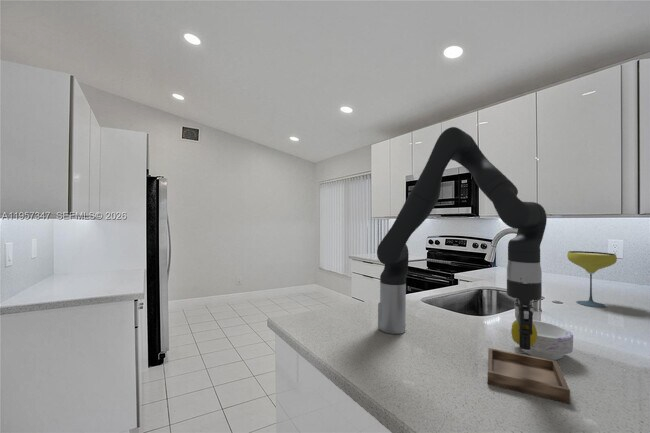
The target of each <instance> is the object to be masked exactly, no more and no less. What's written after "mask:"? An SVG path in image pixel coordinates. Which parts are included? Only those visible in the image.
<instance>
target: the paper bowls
mask: <svg viewBox="0 0 650 433" xmlns="http://www.w3.org/2000/svg"><path fill="white" fill-rule="evenodd" d="M513 323H514V321H513V322H512V323H511V326H512V325H513ZM533 324H534V325H535V328H536V331H537V340H536V342H535V344H534V345H532V346H530V350H526V349H521V351H522V352H524V353H525V354H526V355H528V356H534V357H539V358H544V359H549V360H555V361H557V360H560V359H562V358H563V357H564V356H565V355H567V354H568V355H570V354H571V353H573V351H574V349H573V348H574V335H573V332H571V331H570V330H568V329H567V328H565V327H563V326H560V325H557V324H553V323H550V322H546V321H541V320H535V319H533ZM511 338H512V340H513V342H515V341H514V339H513V337H512V336H511Z"/></svg>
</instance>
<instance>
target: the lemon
mask: <svg viewBox="0 0 650 433" xmlns="http://www.w3.org/2000/svg"><path fill="white" fill-rule="evenodd" d="M513 322H514V323H513ZM513 322H512V323H513V325H512V324H511V330H510V331H511V332H510V333H511V338H512V337H513V339H514V341H513V342H514V343H516V344H517V345H519V331H518V330H519V324H518V323H517V322H516V319H515V320H514V321H513ZM522 328H524V329H528V326H527V325H523V326H522ZM532 332H533V334H532V335H530V346H532V345H534V344H535V342H536V340H537V331H536V328H535V325H534V324H533V325H532ZM513 339H512V340H513Z"/></svg>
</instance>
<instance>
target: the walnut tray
mask: <svg viewBox="0 0 650 433" xmlns="http://www.w3.org/2000/svg"><path fill="white" fill-rule="evenodd" d="M487 351H488V352H487V385H490V386H494V387H500V388H502V389H507V390H511V391H514V392H515V391H516V392H519V393H523V394H527V395H530V396H536V397H538V398H539V397H540V398H543V399H544V398H545V399H548V400H553V401H556V402H561V403H565V404H568V405H571V402H570V401H571V393H570V392H571V389H570V387H569V385H568V383H567V380H566V379H565V376H564V374H563V372H562V370H561V367H560V365H559V364H558V361H557V360H549V359H544V358H539V357H534V356H531V355H529V354H523V353H517V352H512V351H506V350H500V349H497V348H493V347H492V348H491V347H490V348H489V347H488V348H487Z"/></svg>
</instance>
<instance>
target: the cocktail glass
mask: <svg viewBox="0 0 650 433" xmlns="http://www.w3.org/2000/svg"><path fill="white" fill-rule="evenodd" d="M566 257H567V259H568V261H570V262H571V263H573V264H574V265H576V266H578V267H580V268H582V269H584V270H585V271H586V272H587V273H588V274H589V297H588V300H576V303H577V304H578V305H581V306H585V307H592V308H606V306H607V305H605V304H603V303H601V302H596V301H594V299H593V292H592V291H593V282H592V281H593V278H592V276H593V274H595V273H596V272H598V270H599V271H600V270H601V269H605V268H608V267H611V266H613V265H614V264H616V263H617V259H618V258H617V254H615V253H611V252H602V251H601V252H600V251H586V250H585V251H582V250H581V251H580V250H572V251H571V250H569V251H567V254H566Z"/></svg>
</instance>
